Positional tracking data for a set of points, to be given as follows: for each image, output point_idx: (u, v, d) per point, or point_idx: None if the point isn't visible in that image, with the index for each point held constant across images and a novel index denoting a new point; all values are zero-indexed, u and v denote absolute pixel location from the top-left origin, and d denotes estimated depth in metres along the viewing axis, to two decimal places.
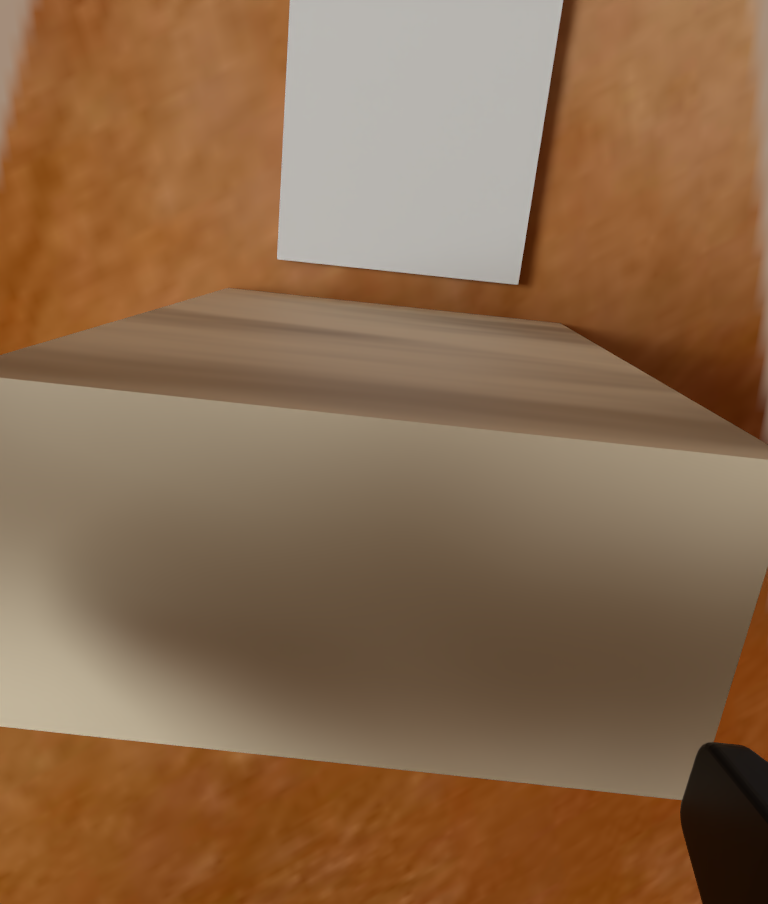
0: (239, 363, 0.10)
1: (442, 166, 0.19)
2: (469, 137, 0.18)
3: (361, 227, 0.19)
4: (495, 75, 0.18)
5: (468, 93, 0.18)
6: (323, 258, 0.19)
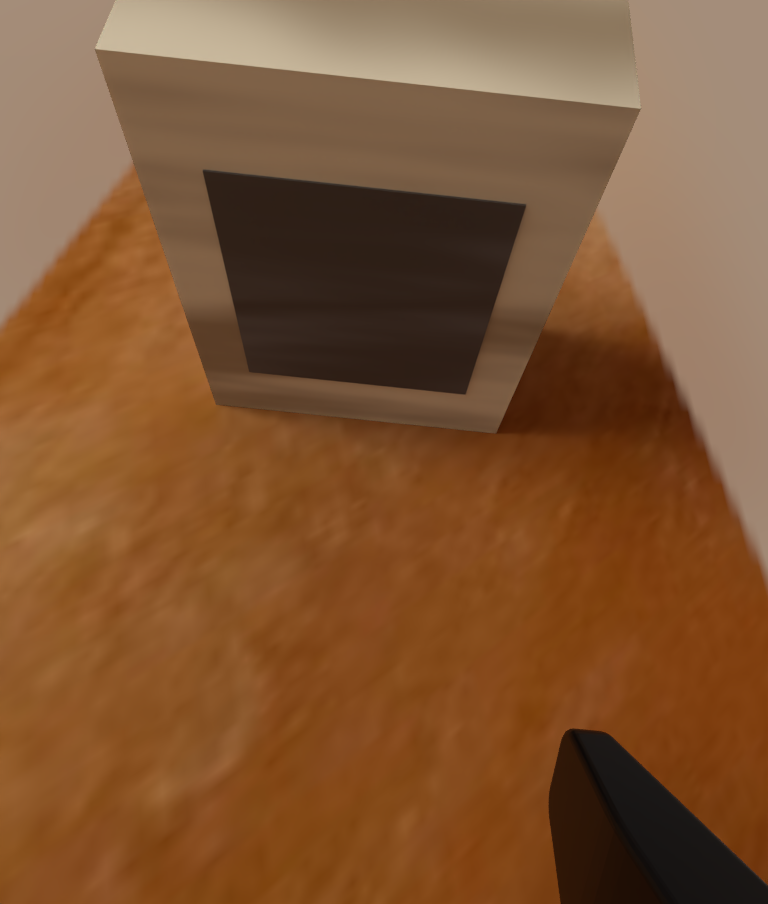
0: None
1: None
2: None
3: None
4: None
5: None
6: None
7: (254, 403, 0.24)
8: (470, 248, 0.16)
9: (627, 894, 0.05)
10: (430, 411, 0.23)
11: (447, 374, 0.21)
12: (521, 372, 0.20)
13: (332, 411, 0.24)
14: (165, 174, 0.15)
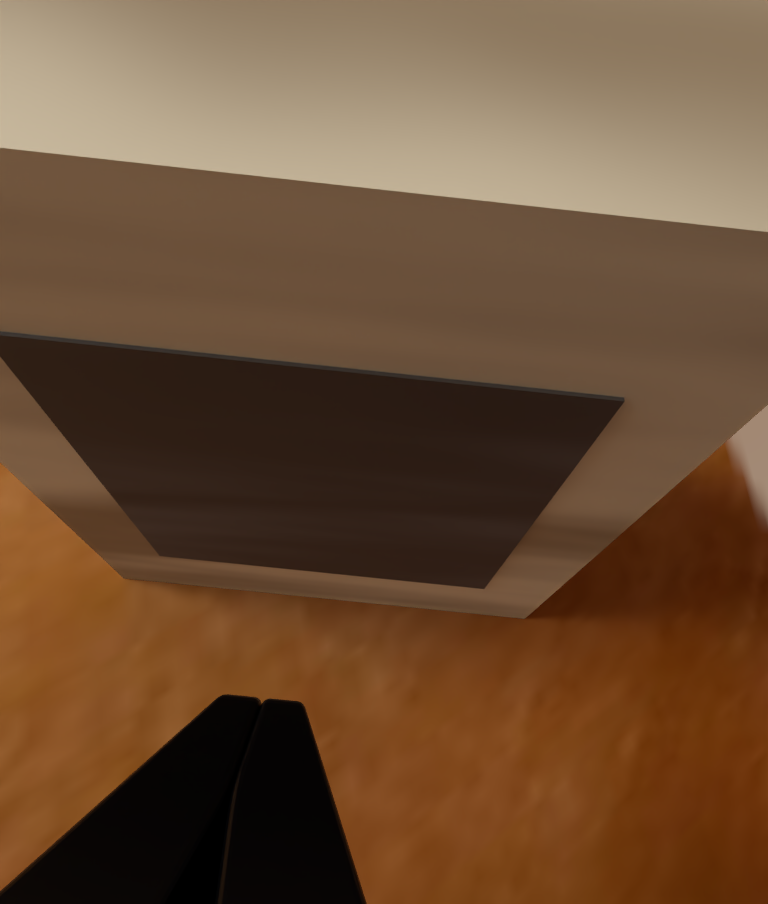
0: None
1: None
2: None
3: None
4: None
5: None
6: None
7: (177, 580, 0.16)
8: (507, 450, 0.09)
9: None
10: (431, 598, 0.16)
11: (458, 570, 0.14)
12: (572, 573, 0.13)
13: (290, 590, 0.16)
14: None
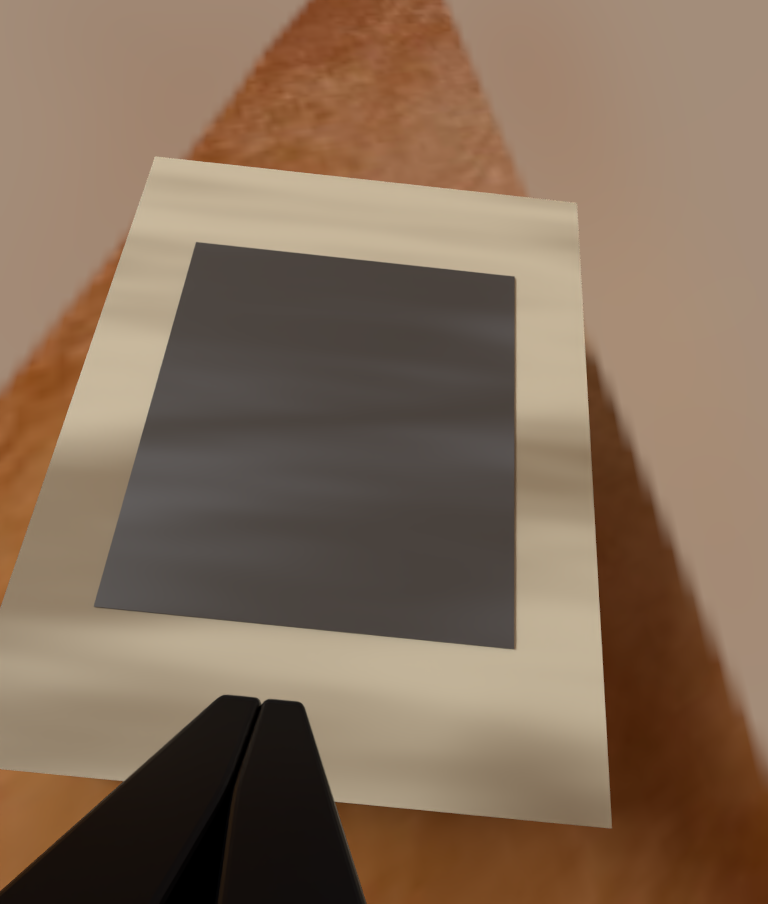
0: None
1: None
2: None
3: None
4: None
5: None
6: None
7: (49, 745, 0.10)
8: (469, 324, 0.14)
9: None
10: (452, 734, 0.11)
11: (472, 586, 0.12)
12: (594, 569, 0.12)
13: None
14: (154, 248, 0.15)
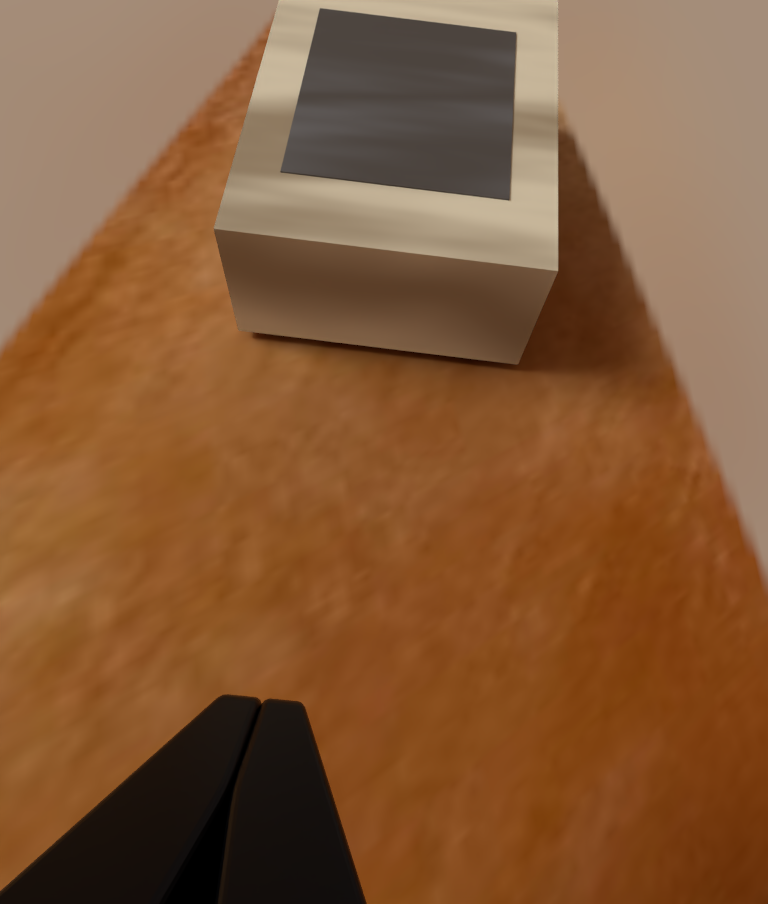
0: None
1: None
2: None
3: None
4: None
5: None
6: None
7: (264, 224, 0.20)
8: (487, 55, 0.23)
9: None
10: (474, 231, 0.20)
11: (487, 173, 0.21)
12: (556, 170, 0.21)
13: (358, 235, 0.20)
14: (294, 11, 0.24)
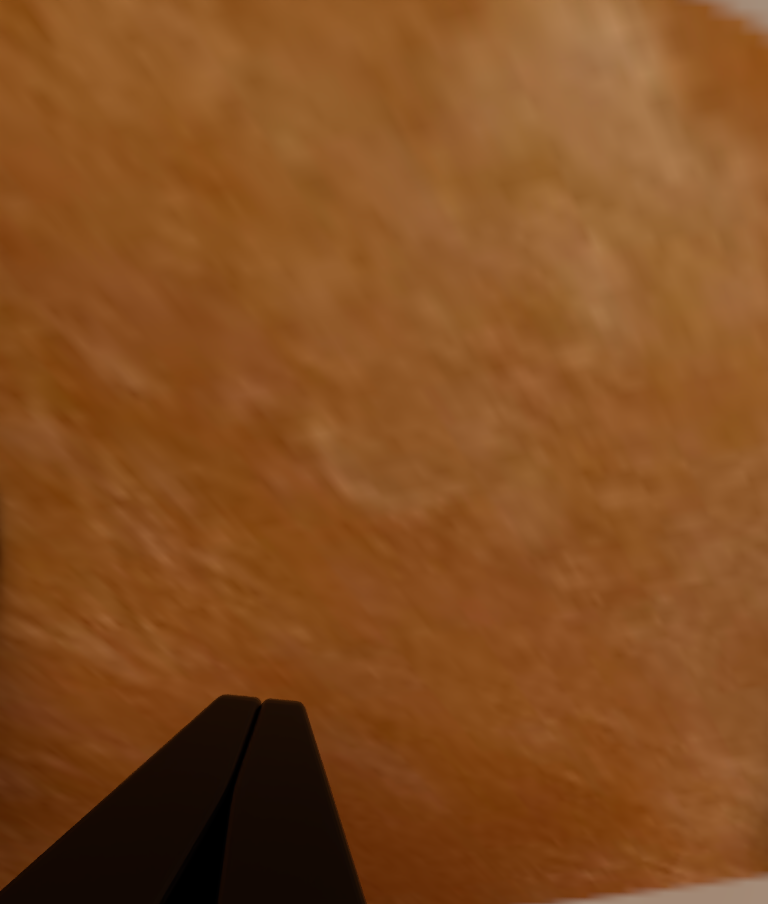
0: None
1: None
2: None
3: None
4: None
5: None
6: None
7: None
8: None
9: None
10: None
11: None
12: None
13: None
14: None
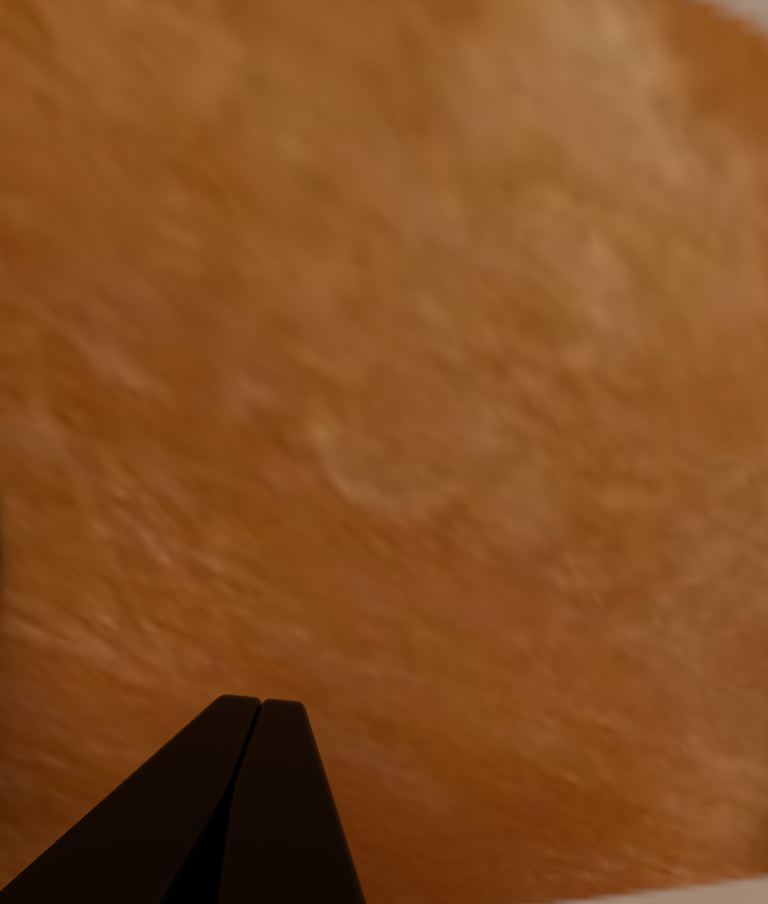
0: None
1: None
2: None
3: None
4: None
5: None
6: None
7: None
8: None
9: None
10: None
11: None
12: None
13: None
14: None
